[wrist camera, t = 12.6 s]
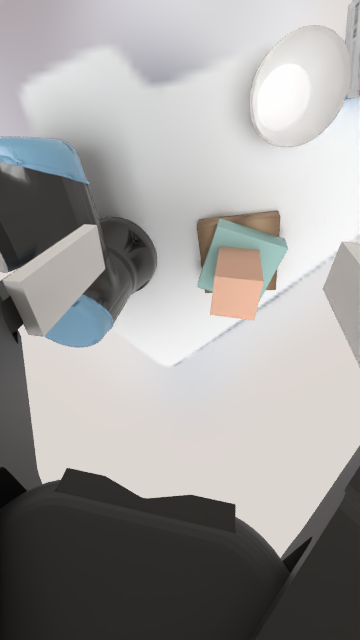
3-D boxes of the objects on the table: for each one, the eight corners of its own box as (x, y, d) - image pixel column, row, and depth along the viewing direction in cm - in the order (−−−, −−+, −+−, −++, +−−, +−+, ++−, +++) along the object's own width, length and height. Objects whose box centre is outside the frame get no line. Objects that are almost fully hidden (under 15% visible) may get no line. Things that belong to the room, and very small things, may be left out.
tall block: (215, 280, 44) (210, 314, 36) (219, 246, 40) (214, 276, 32) (251, 284, 43) (254, 320, 35) (259, 249, 39) (263, 281, 31)
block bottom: (207, 282, 53) (205, 292, 50) (199, 218, 46) (196, 226, 43) (273, 279, 50) (275, 289, 47) (277, 209, 43) (280, 216, 40)
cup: (311, 138, 36) (336, 146, 27) (245, 143, 38) (246, 151, 28) (330, 45, 30) (369, 13, 21) (251, 55, 32) (255, 30, 23)
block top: (199, 276, 48) (197, 286, 45) (219, 218, 41) (217, 226, 38) (255, 293, 48) (256, 305, 45) (284, 238, 41) (288, 248, 38)
